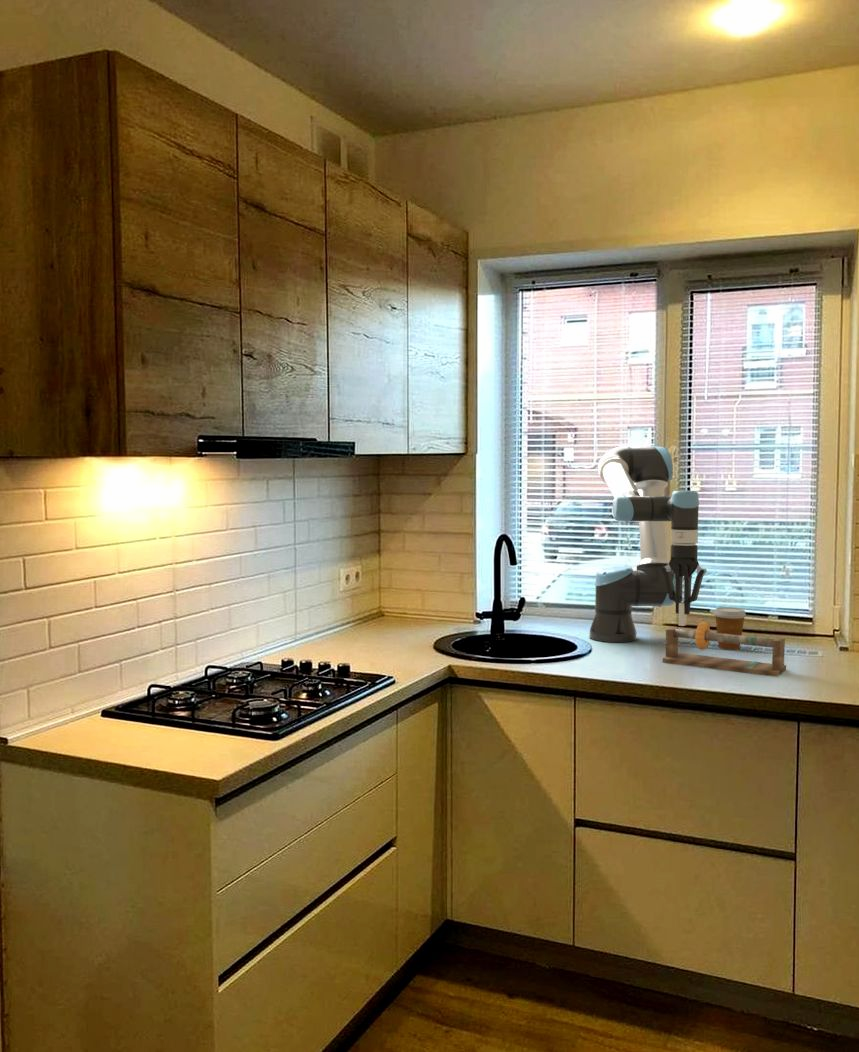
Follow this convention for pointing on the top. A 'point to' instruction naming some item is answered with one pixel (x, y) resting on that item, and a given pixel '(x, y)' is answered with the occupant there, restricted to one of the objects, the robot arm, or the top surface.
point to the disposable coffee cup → (729, 624)
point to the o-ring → (702, 635)
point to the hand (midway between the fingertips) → (682, 624)
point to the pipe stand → (726, 663)
